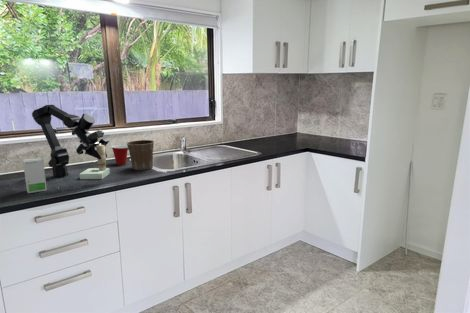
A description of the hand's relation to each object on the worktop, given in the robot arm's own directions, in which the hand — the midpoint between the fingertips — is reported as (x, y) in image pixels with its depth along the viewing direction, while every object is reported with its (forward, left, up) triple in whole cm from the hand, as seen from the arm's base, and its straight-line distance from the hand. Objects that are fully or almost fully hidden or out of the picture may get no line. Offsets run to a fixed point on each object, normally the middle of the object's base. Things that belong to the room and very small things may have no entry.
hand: (103, 157), depth 169 cm
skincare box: (-30, -11, -13) cm, 34 cm away
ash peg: (-1, 0, -7) cm, 7 cm away
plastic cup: (-5, +41, -13) cm, 43 cm away
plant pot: (+11, +30, -13) cm, 35 cm away
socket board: (-11, +13, -13) cm, 21 cm away
